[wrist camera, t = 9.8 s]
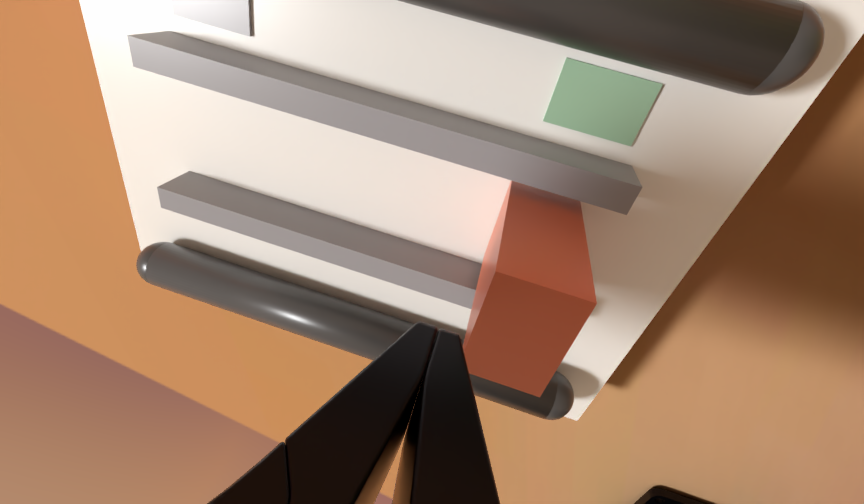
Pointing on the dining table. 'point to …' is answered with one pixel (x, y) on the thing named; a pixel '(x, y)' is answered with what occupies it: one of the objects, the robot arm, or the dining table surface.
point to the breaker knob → (530, 290)
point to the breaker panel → (445, 149)
